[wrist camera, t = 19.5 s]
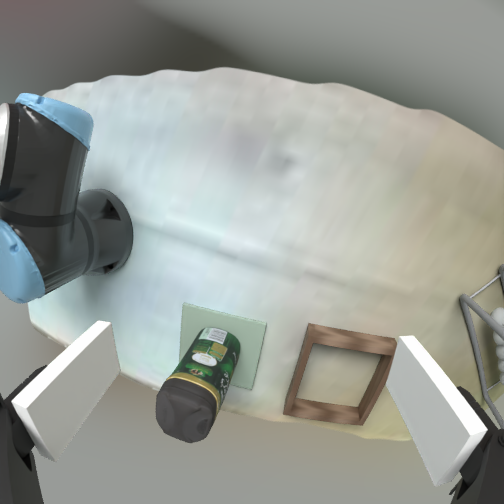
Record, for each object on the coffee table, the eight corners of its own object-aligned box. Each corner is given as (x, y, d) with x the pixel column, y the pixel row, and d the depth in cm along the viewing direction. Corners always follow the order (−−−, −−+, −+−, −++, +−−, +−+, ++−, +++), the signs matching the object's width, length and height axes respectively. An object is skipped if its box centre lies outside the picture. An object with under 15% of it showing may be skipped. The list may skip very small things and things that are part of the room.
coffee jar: (234, 377, 50) (203, 454, 32) (192, 363, 51) (148, 433, 33) (247, 334, 47) (214, 411, 30) (201, 319, 48) (150, 387, 31)
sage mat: (180, 367, 53) (178, 369, 52) (184, 302, 49) (182, 304, 48) (252, 386, 51) (251, 389, 50) (266, 322, 47) (266, 325, 46)
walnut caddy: (285, 399, 50) (283, 414, 47) (308, 323, 46) (308, 335, 42) (360, 411, 49) (362, 425, 45) (394, 338, 44) (400, 351, 40)
